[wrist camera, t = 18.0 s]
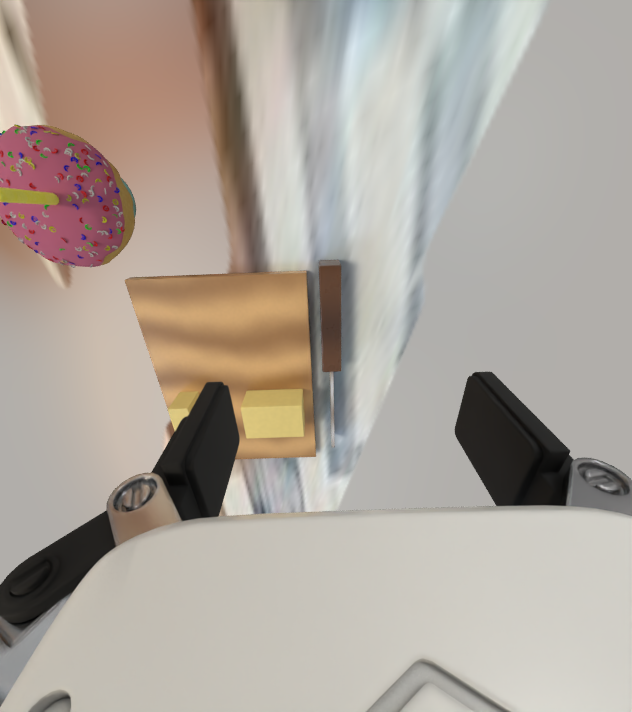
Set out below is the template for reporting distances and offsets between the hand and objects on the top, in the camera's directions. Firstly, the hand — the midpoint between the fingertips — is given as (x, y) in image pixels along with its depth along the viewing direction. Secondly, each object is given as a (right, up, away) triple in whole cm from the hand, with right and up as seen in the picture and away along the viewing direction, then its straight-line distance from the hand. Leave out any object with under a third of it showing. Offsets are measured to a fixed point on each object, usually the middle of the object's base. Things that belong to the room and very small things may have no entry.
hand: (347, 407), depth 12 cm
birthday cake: (-18, +15, +13) cm, 26 cm away
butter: (-6, -3, +21) cm, 22 cm away
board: (-10, 0, +20) cm, 22 cm away
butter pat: (-15, -4, +21) cm, 25 cm away
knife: (0, +2, +19) cm, 19 cm away
